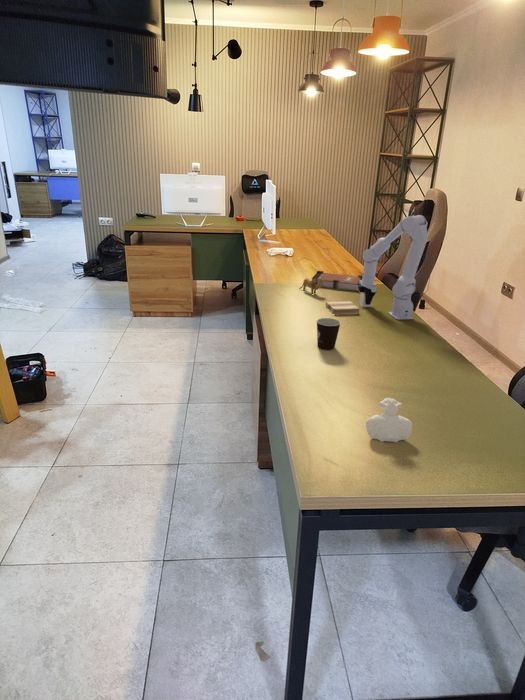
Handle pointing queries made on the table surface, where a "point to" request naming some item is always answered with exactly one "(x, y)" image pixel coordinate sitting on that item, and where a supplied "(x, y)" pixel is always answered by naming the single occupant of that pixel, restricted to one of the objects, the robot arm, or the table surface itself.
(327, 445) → the table surface
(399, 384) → the table surface
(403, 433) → the bust
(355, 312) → the oak block
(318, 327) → the coffee mug
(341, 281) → the book
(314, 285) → the lion figurine
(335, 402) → the table surface
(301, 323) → the table surface
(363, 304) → the white block
